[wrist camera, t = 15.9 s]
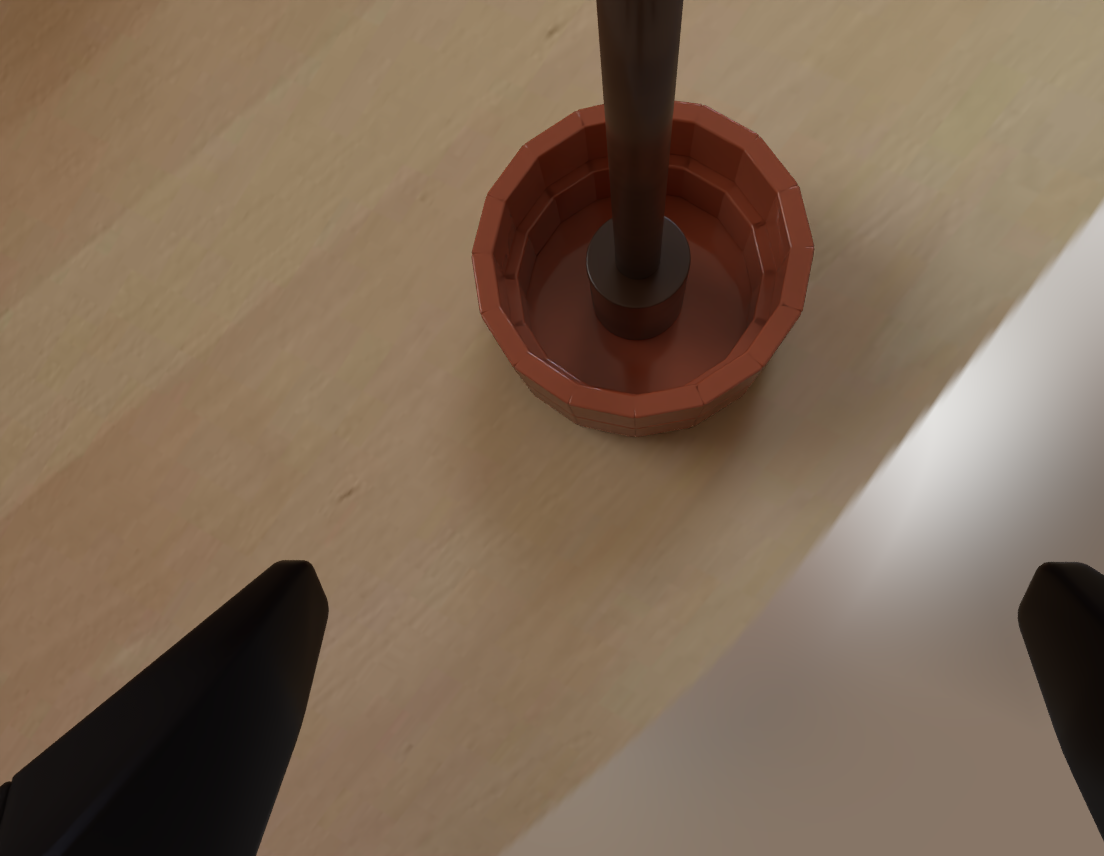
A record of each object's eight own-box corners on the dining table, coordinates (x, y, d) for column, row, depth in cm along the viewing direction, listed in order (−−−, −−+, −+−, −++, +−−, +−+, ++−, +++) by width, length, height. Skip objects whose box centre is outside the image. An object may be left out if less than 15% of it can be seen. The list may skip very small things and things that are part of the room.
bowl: (834, 263, 21) (879, 200, 17) (674, 494, 20) (683, 483, 17) (603, 129, 23) (596, 44, 19) (450, 339, 22) (409, 297, 18)
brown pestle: (688, 334, 21) (868, -353, 5) (597, 345, 21) (475, -264, 5) (677, 249, 21) (804, -638, 5) (588, 261, 21) (451, -541, 5)
